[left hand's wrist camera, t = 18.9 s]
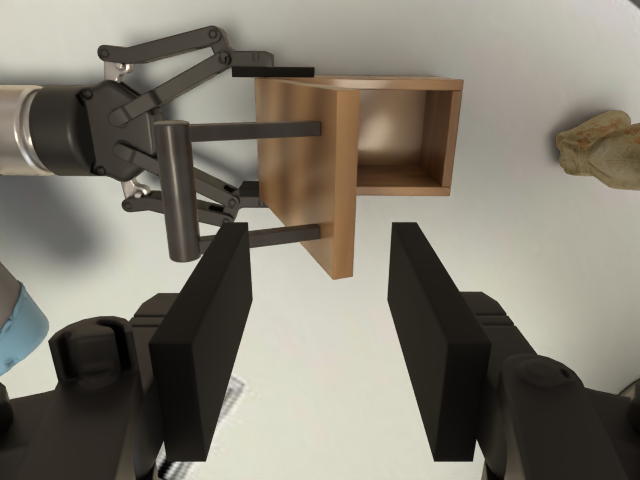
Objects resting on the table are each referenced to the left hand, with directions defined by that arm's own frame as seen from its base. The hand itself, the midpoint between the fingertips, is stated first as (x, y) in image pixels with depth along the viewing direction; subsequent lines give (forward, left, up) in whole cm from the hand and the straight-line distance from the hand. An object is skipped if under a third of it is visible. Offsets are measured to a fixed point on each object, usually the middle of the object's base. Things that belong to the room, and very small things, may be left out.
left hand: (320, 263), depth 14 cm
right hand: (0, 0, -26) cm, 26 cm away
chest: (-3, -2, -32) cm, 33 cm away
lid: (+1, 0, -15) cm, 15 cm away
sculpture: (-23, -13, -32) cm, 42 cm away
